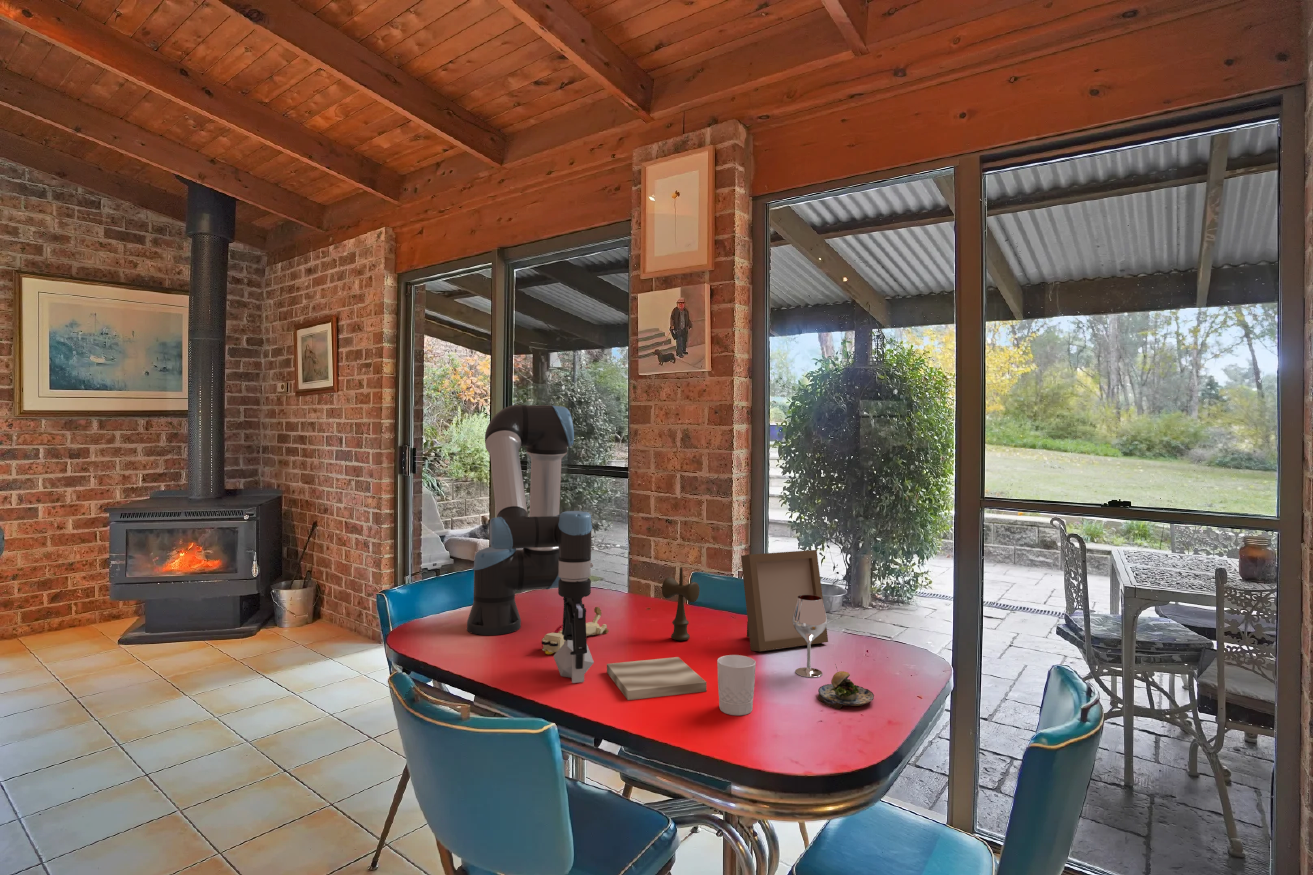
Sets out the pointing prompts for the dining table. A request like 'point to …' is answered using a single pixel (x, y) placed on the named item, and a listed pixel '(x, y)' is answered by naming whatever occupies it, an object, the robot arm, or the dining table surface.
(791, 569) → the photo frame
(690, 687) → the birch board
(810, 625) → the wineglass
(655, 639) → the dining table surface
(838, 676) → the burger
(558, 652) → the die
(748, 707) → the white cup
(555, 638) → the cat figure
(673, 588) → the kendama
